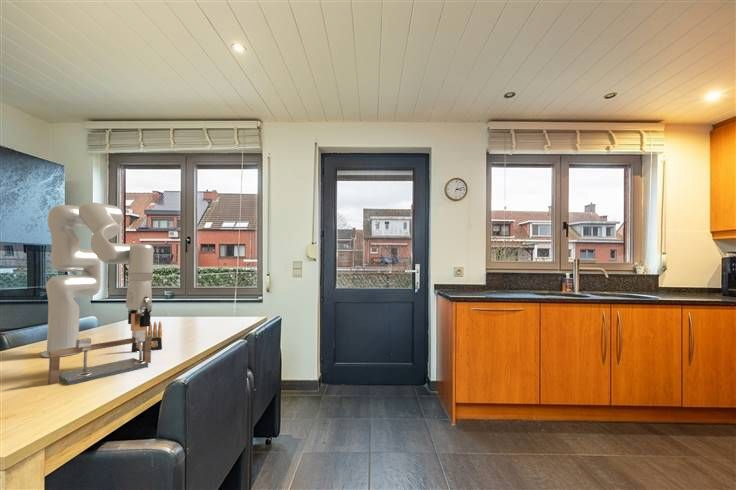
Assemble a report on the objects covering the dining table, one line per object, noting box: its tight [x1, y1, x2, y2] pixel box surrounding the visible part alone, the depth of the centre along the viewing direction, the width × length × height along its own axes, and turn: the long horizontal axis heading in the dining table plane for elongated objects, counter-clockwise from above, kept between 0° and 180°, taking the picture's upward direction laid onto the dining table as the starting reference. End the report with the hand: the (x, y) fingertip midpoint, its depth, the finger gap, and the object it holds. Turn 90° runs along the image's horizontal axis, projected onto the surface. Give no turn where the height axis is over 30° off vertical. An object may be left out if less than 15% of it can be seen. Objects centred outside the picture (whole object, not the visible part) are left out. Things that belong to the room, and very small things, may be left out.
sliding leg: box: [130, 312, 148, 361], centre depth 124 cm, size 5×4×16 cm
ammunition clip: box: [131, 320, 163, 353], centre depth 144 cm, size 11×2×12 cm, turn 116°
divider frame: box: [48, 334, 153, 385], centre depth 116 cm, size 4×28×12 cm, turn 145°
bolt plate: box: [59, 357, 149, 386], centre depth 116 cm, size 12×23×1 cm, turn 145°
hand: (138, 325), depth 125 cm, fingers open, 9 cm apart
